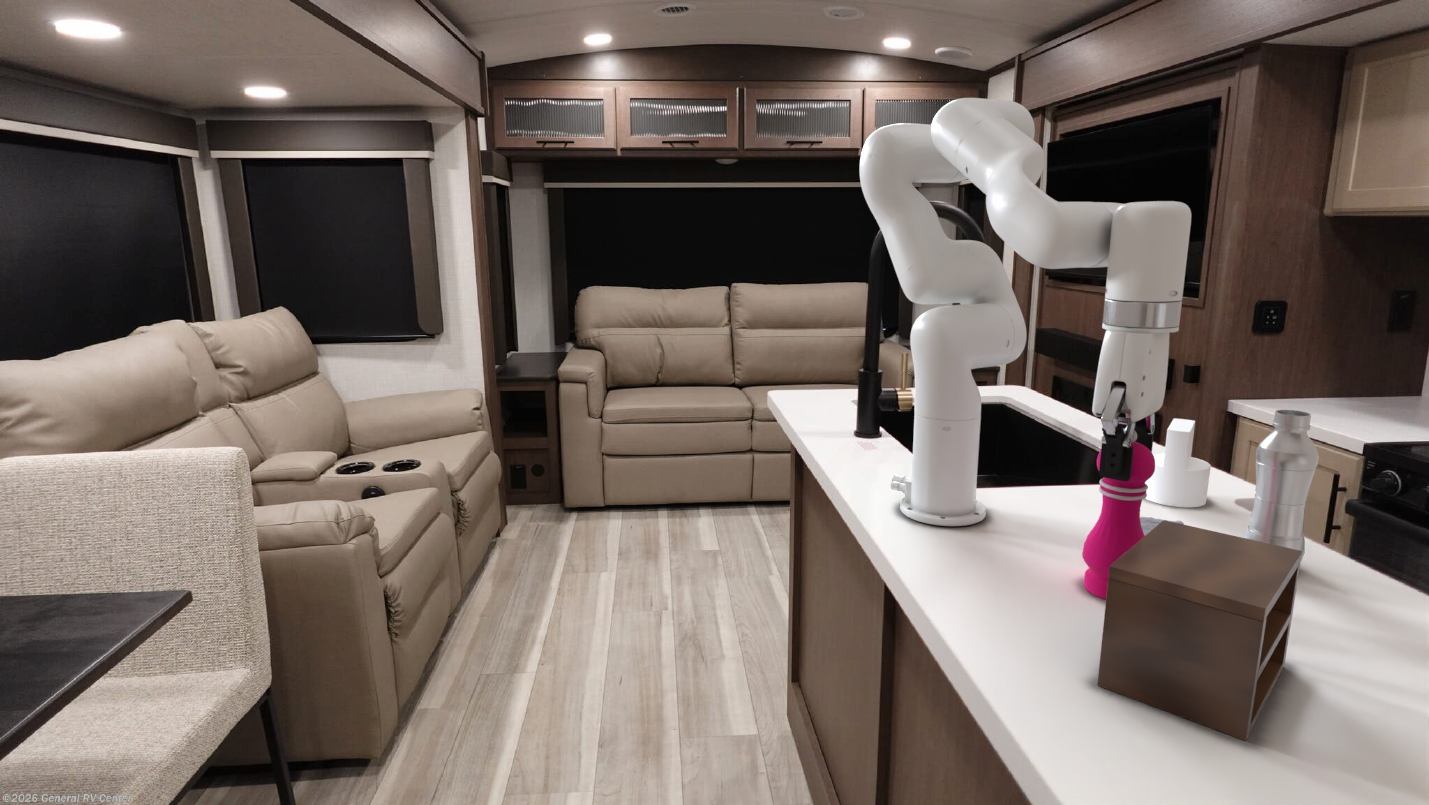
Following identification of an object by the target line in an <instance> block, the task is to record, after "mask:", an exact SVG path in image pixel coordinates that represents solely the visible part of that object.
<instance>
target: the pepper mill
mask: <svg viewBox="0 0 1429 805" xmlns="http://www.w3.org/2000/svg"><path fill="white" fill-rule="evenodd" d="M1123 429H1124V433H1125V430H1126V428H1123ZM1136 439H1137V433H1136V431H1135V430H1134V432H1133V436H1132V441H1131V445H1130V446H1133V447H1134V451H1133V461H1132V470H1131V478H1130V480H1129V481H1126V482H1125V481H1120V480H1115V479H1110V478H1105V477H1101V478H1100V480H1099V482H1098V483H1099V487H1098V492H1099V493H1100V494H1101V495H1102V505H1101V511H1100V515H1099V516H1098V519H1097V521H1096V523H1094V526H1093V527H1092V529H1091V530H1090V531H1089V533H1088V535H1087V536H1086V538H1085V540H1084V543H1083V547H1082V552H1081V555H1082V556H1081V557H1082V559H1083V561H1084V563H1085V564H1086V566H1087V567H1088V568H1087V569H1086V570H1085V571H1084V578H1083V586H1084V588H1085V590H1087V592H1089V593H1090V594H1092V595H1094V596H1095V597H1098V598H1101V599H1103V600H1106V596H1107V586H1108V576H1109V566H1110V565H1112V564H1113V563H1114V562H1115V561H1116V560H1117V559H1119V558H1120V557H1121V556H1122V555H1123V554H1124V553H1126V552H1127V551H1128V550H1129V549H1130V548H1131V547H1133V546H1134V545H1135V544H1136V543H1137V542H1138V541H1140V540H1141V539H1142V538H1143V537H1144V536H1145V535H1144V533H1143V530H1142V527H1141V522H1140V517H1141V507H1142V502H1143V500H1144V499H1146V497H1147V493H1146V490H1147V489H1148V486H1147V484H1145V482H1146V481H1147V480H1148V479H1149V478H1151V476H1152V475H1153V474H1154V471H1155V459H1154V456H1153V451H1152V452H1151V451H1150V450H1149V449H1148V448H1147V447H1146V446H1144V445H1142V444H1140V443H1137V442H1135V441H1136ZM1100 457H1101V449H1100V450H1099V453H1098V454H1097V458H1096V468H1097V470H1098V471H1099V467H1100Z"/></svg>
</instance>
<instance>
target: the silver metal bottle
mask: <svg viewBox="0 0 1429 805" xmlns="http://www.w3.org/2000/svg"><path fill="white" fill-rule="evenodd" d="M1311 420H1312V414H1311V413H1309V412H1306V411H1303V410H1295V409H1277V410H1275V412H1274V417H1273V421H1272V427H1274V429H1273V430H1272V431H1271V432H1270V433H1269V434H1267V435H1266V436H1265V437H1264V439H1262V441H1260V443H1259V444H1258V446H1257V448H1256V450H1255V480H1256V481H1255V493H1254V502H1253V506H1252V510H1251V515H1250V518H1249V523H1248V525H1247V527H1246V529H1245V532H1244V535H1243V538H1246V539H1251V540H1255V541H1260V542H1264V543H1269V544H1273V545H1277V546H1282V547H1286V548H1291V549H1295V550H1300V551H1302V557H1301V562H1302V561H1303V558H1304V556H1305V553H1306V552H1305V551H1306V550H1305V548H1306V547H1305V546H1306V545H1305V543H1306V542H1305V535H1304V530H1305V529H1304V528H1305V514H1306V513H1305V511H1306V506H1307V500H1308V497H1309V492H1310V488H1311V486H1312V482H1313V479H1314V476H1315V473H1316V470H1317V467H1318V465H1319V464H1318V463H1319V460H1320V457H1319V451H1318V449H1317V447H1316V446H1315V444H1314V442H1313V440H1312V439H1311V438H1310V436H1309V435H1308V433H1307V432H1308V431H1310V430H1311Z"/></svg>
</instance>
